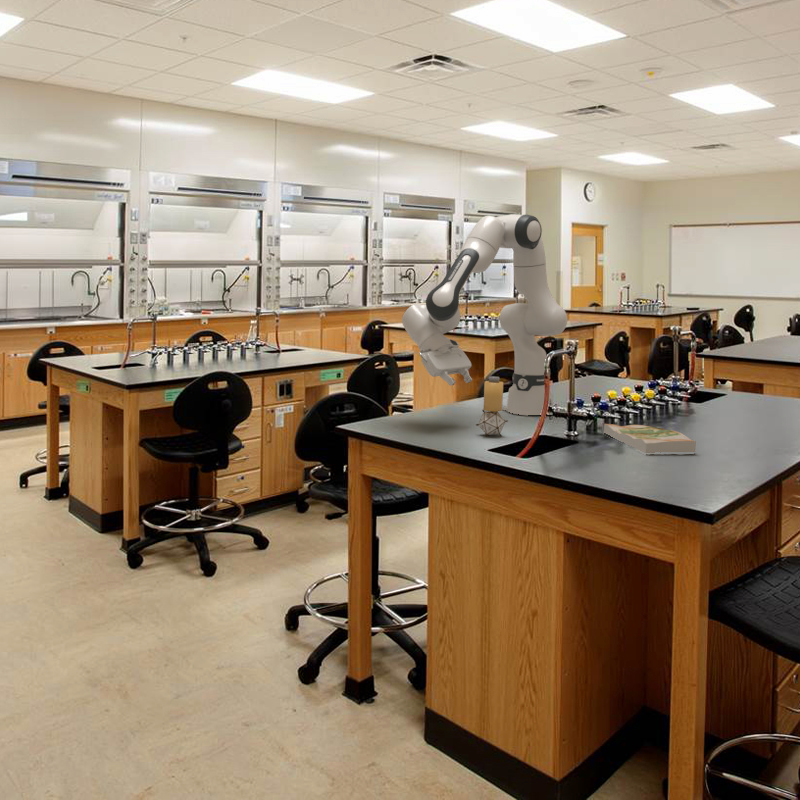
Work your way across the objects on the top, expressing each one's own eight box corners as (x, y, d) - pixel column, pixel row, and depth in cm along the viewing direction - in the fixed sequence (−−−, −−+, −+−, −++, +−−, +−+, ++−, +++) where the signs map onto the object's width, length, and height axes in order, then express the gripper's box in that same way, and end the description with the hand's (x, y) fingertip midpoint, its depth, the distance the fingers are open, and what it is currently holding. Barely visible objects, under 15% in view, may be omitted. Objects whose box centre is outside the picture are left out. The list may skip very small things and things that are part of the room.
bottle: (488, 407, 241) (489, 375, 240) (505, 409, 238) (506, 377, 237) (480, 410, 237) (481, 377, 235) (497, 412, 234) (498, 378, 232)
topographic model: (694, 456, 219) (696, 439, 218) (645, 456, 217) (646, 439, 216) (647, 435, 248) (648, 420, 247) (603, 435, 246) (604, 419, 245)
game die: (495, 449, 238) (505, 426, 231) (469, 437, 239) (479, 415, 232) (503, 430, 244) (513, 408, 237) (478, 419, 245) (487, 396, 238)
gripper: (423, 343, 237) (449, 379, 233) (459, 341, 254) (484, 374, 249) (411, 357, 241) (436, 392, 236) (447, 353, 257) (472, 386, 253)
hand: (461, 383), depth 243 cm, fingers open, 8 cm apart
